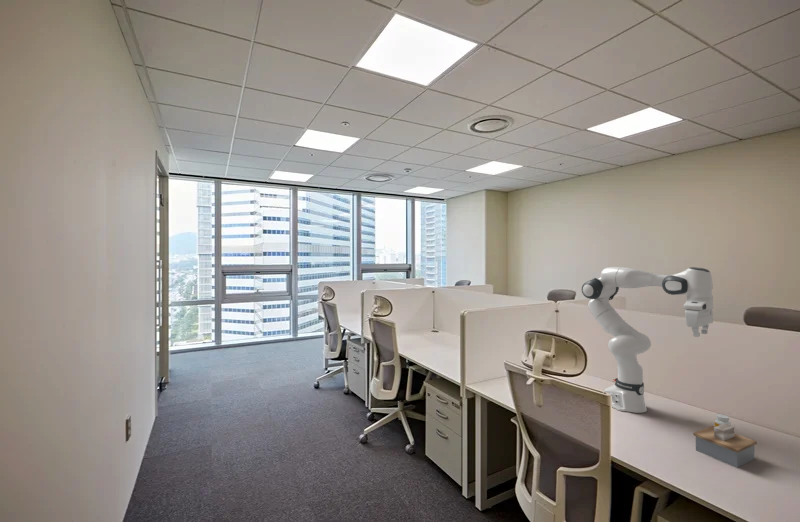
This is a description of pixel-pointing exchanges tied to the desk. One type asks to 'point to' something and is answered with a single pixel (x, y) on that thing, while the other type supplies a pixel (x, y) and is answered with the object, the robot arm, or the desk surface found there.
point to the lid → (725, 437)
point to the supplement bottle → (721, 420)
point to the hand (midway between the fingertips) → (700, 335)
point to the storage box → (725, 453)
